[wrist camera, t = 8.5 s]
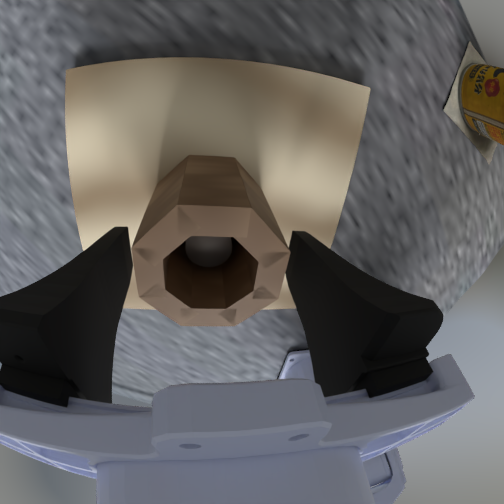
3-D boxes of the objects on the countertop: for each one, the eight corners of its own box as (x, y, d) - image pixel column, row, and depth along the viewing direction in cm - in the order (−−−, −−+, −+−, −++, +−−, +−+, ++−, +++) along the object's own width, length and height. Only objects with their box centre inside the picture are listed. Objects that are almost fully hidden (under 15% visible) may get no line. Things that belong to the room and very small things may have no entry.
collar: (251, 249, 17) (271, 325, 12) (159, 246, 16) (144, 324, 11) (266, 159, 14) (300, 211, 9) (157, 154, 13) (126, 204, 8)
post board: (306, 298, 22) (326, 348, 18) (102, 297, 19) (86, 349, 15) (361, 86, 13) (416, 97, 9) (74, 69, 10) (23, 72, 6)
